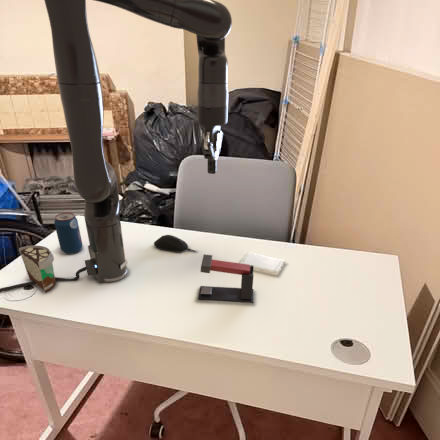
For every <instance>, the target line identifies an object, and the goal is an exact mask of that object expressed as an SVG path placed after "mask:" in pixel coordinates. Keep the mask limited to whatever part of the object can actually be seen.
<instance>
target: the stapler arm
mask: <svg viewBox="0 0 440 440" xmlns="http://www.w3.org/2000/svg"><path fill="white" fill-rule="evenodd" d="M211 272H218V273H223V274H224V273H225V274H231V275H238V276H239V275H240V276H242V274H250V265H248V264H241V263H240V262H233V261H225V260H219V259H213V255H211V254H205V253H204V254H203V256H202V260H201V264H200V273H203V274H210V273H211Z"/></svg>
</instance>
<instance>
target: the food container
mask: <svg viewBox="0 0 440 440" xmlns="http://www.w3.org/2000/svg"><path fill="white" fill-rule="evenodd" d="M18 252H19V255H20V256H21V258H22V261H23V265H24V268H25V271H26V274H27V276H28V279H29V282H31V281H35V282H36V284H34V285H35V286H36V287H37V288H39V289H40V290H41V291H42V292H44V293H48V292H49V291H51V290H52V289H54V287H55V286H56V283H57V282H56V281H55V277H56V276H55V271H54V264H53V263H54V260H55V256H54V254H53V252H52V251H51V250H50V248H48V247H47V246H43V245H26V246H21V247H19V248H18Z"/></svg>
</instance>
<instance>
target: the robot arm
mask: <svg viewBox="0 0 440 440" xmlns="http://www.w3.org/2000/svg"><path fill="white" fill-rule="evenodd" d="M93 1H95V2H99V3H103V4H107V5H109V6H113V7H116V8H118V9H121V10H124V11H126V12H129V13H131V14H134V15H135V16H136V15H137V16H139V17H141V18H144V19H146V20H149V21H152V22H153V23H154V22H155V23H157V24H161V25H164V26H167V27H169V28H173V29H178V30H179V29H180V30H184V31H187V32H189V33H192V34H194V35H195V36H196V37H195V38H196V46H197V47H196V49H197V56H198V63H197V79H198V80H197V81H198V82H197V92H196V93H197V97H196V98H197V99H196V100H197V123H198V124H199V125H202V126H204V131H202V139H203V141H201V142H200V147H201V152H202V155H203V158H204V160H207V174H210V175H211V174H212V175H215V174H216V173H217V172H218V158H219V155H220V154H221V148H222V144H223V143H222V142H223V137H224V132H223V131H222V130H221V127H222V126H225V125H227V123H228V117H229V115H228V114H229V86H228V83H229V82H228V79H229V78H228V77H229V76H228V75H229V63H228V61H229V60H228V57H227V54H226V37H227V36H228V35H229V34H230V32H231V30H232V25H233V17H232V14H231V12H230V10H229V9H228V7H227V6H226V5H225V4H223V3H221V2H220V1H217V0H93ZM44 5H45V8H46V13H47V16H48V20H49V25H50V31H51V32H50V33H51V38H52V39H51V41H52V42H51V43H52V51H53V58H54V66H55V72H56V79H57V86H58V91H59V95H60V101H61V106H62V110H63V115H64V120H65V125H66V129H67V132H68V134H67V135H68V138H69V143H70V148H71V159H72V170H73V184H74V187H75V190H76V192H77V193H78V195H79V196H80V197H81V198H82V199H83V200H84V210H83V218H84V222H85V226H86V232H87V233H86V234H87V238H88V244H89V245H87V250H88V255H89V259H84V265H85V266H84V267H82V268H80V269H78V270H76V271H75V276H74V277H73V278H65V277H57V276H55V282H56V281H57V282H76V281H78V280H80V278H81V277H80V276H81V275H80V274H81V273H83V272H85V271H86V275H87V277H91V276H92V277H93V276H94V277H95V278H96V279H97V280H98V282H99V283H112V282H117V281H120V280H123V279H124V278H126V276H128V267H127V265H128V260H127V259H126V254H125V246H124V238H123V231H122V223H121V215H120V207H121V204H120V203H121V202H120V195H119V194H120V193H119V185H118V179H117V178H118V177H117V174H116V171H115V169H114V167H113V166H112V164H111V163H110V162H109V161H108V160H105V154H104V146H103V133H104V116H105V114H104V112H105V111H104V110H105V107H104V95H103V88H102V79H101V73H100V69H99V64H98V60H97V56H96V52H95V48H94V45H93V42H92V37H91V34H90V30H89V23H88V13H87V0H44ZM35 284H36V282H35V281H26V282H22V283H18V284H12V285H9V286H5V287H1V288H0V293H1V292H7V291H10V290H11V291H12V290H16V289H19V288H20V289H21V288H25V287H28V286H32V285H33V286H34V285H35Z"/></svg>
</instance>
